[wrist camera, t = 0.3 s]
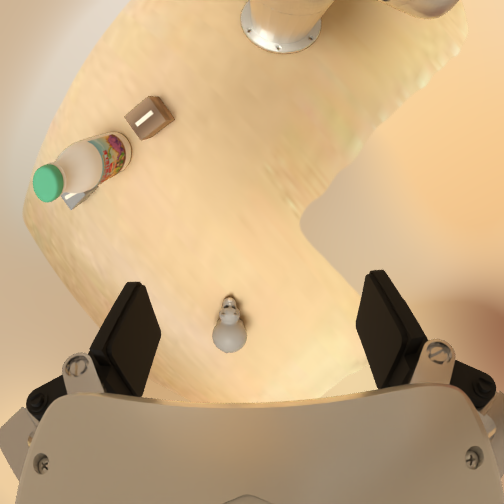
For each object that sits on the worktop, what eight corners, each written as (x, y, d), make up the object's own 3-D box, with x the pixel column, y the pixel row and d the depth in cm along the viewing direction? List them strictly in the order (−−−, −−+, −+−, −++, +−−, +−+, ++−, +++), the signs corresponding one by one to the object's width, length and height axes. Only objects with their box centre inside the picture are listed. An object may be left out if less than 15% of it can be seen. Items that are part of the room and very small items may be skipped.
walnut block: (136, 115, 39) (123, 116, 35) (159, 96, 38) (147, 96, 33) (152, 136, 41) (140, 140, 37) (175, 119, 40) (165, 120, 35)
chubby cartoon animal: (248, 292, 60) (249, 304, 51) (245, 342, 61) (246, 359, 53) (215, 290, 60) (211, 302, 51) (214, 340, 61) (210, 357, 53)
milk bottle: (97, 172, 44) (28, 214, 26) (96, 132, 40) (21, 156, 22) (132, 173, 44) (69, 216, 27) (133, 130, 40) (63, 152, 23)
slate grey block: (70, 182, 44) (56, 190, 40) (84, 166, 43) (69, 173, 39) (84, 200, 46) (70, 210, 42) (98, 186, 45) (84, 195, 41)
